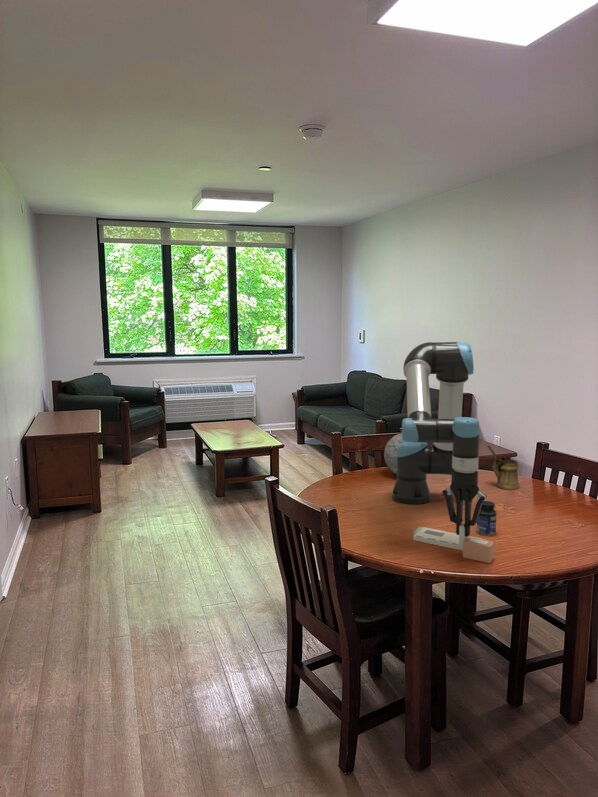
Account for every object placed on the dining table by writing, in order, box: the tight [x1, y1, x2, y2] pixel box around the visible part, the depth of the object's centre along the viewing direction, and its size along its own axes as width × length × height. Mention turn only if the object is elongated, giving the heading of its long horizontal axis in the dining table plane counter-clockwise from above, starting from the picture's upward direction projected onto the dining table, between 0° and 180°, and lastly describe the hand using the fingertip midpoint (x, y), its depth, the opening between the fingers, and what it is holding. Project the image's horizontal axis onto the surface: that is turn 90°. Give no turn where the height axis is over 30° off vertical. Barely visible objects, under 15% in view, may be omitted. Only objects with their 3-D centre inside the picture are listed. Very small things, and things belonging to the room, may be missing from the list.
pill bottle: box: [476, 500, 497, 537], centre depth 188 cm, size 6×6×11 cm
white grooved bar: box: [412, 526, 485, 552], centre depth 181 cm, size 20×9×2 cm, turn 57°
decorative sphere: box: [383, 432, 405, 475], centre depth 259 cm, size 20×20×20 cm
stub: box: [462, 536, 496, 564], centre depth 169 cm, size 8×4×5 cm, turn 57°
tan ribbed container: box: [487, 445, 520, 491], centre depth 240 cm, size 9×14×18 cm, turn 81°
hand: (462, 545), depth 171 cm, fingers closed
